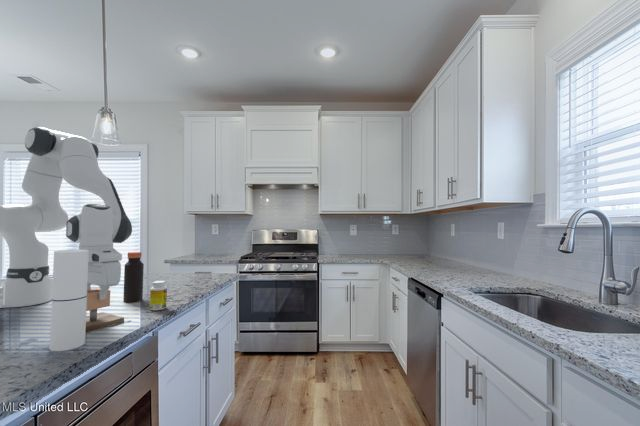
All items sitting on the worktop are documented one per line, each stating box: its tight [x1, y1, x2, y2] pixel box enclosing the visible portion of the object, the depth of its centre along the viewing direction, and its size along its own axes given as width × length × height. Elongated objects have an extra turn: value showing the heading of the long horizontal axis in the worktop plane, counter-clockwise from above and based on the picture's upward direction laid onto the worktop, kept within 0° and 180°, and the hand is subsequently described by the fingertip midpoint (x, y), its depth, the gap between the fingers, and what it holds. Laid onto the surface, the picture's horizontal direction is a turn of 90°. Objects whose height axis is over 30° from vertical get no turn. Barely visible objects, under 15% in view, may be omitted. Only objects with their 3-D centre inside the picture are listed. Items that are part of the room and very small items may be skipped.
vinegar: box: [122, 251, 144, 303], centre depth 125 cm, size 7×7×20 cm
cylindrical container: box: [49, 249, 89, 352], centre depth 79 cm, size 7×7×25 cm
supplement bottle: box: [149, 280, 168, 311], centre depth 113 cm, size 6×6×10 cm
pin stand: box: [85, 309, 125, 334], centre depth 95 cm, size 12×12×8 cm
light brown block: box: [86, 287, 111, 312], centre depth 95 cm, size 6×6×5 cm
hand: (94, 297), depth 95 cm, fingers closed on light brown block, 6 cm apart
